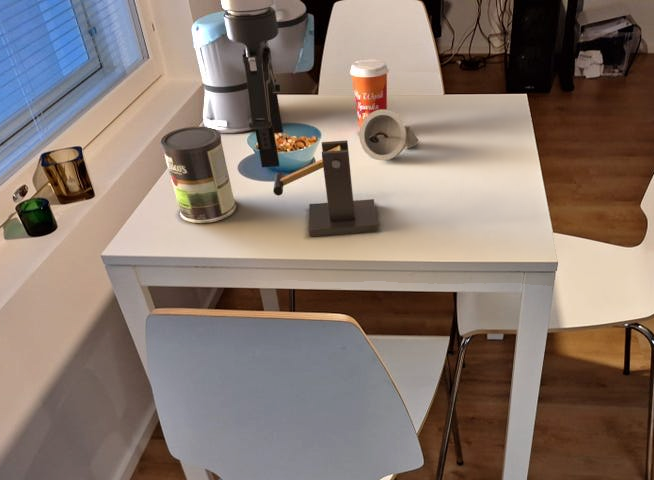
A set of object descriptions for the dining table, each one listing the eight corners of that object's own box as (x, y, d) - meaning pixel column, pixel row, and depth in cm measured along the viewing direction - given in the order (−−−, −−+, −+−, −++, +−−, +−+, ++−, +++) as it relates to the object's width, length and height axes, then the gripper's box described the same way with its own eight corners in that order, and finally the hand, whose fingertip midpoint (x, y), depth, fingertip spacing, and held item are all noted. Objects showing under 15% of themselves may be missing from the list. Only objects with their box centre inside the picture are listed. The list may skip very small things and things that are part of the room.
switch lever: (277, 199, 114) (270, 187, 113) (279, 183, 119) (272, 172, 117) (347, 167, 112) (340, 154, 110) (345, 152, 116) (339, 140, 115)
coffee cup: (350, 138, 150) (344, 69, 140) (361, 125, 156) (356, 57, 146) (386, 141, 148) (382, 71, 139) (396, 127, 154) (393, 59, 145)
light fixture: (418, 166, 148) (422, 118, 145) (397, 160, 132) (402, 106, 130) (371, 162, 150) (375, 115, 148) (345, 155, 134) (349, 102, 132)
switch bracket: (309, 236, 117) (298, 161, 108) (310, 210, 125) (299, 137, 116) (377, 231, 118) (372, 156, 109) (374, 205, 125) (368, 133, 117)
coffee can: (199, 229, 120) (178, 154, 111) (170, 211, 126) (149, 138, 117) (247, 209, 126) (231, 136, 116) (218, 192, 131) (200, 121, 122)
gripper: (231, -10, 107) (255, 121, 121) (212, 34, 88) (244, 183, 102) (278, -13, 107) (297, 118, 121) (269, 31, 89) (293, 180, 103)
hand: (273, 148), depth 112 cm, fingers open, 13 cm apart
